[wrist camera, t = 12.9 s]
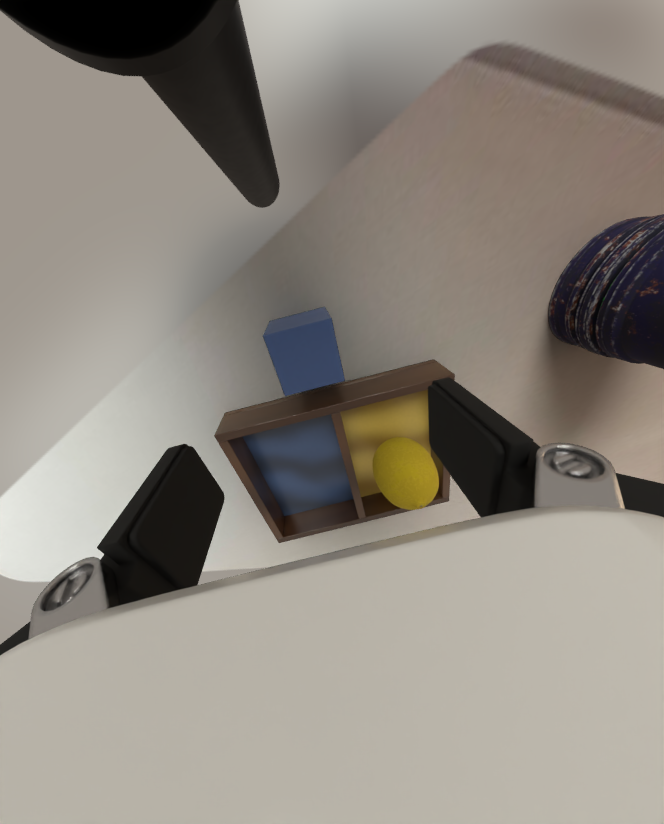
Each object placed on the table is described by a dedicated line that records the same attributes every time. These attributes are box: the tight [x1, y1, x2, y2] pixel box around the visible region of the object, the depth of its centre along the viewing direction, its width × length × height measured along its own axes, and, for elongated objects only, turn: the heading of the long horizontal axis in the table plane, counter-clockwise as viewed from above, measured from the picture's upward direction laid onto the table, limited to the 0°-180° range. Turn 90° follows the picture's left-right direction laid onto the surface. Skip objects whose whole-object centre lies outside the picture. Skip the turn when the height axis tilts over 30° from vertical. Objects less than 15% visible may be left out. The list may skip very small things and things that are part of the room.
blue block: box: [263, 307, 345, 396], centre depth 19 cm, size 4×4×4 cm
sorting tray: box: [214, 360, 455, 543], centre depth 26 cm, size 16×20×4 cm
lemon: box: [373, 437, 439, 510], centre depth 23 cm, size 6×6×8 cm
